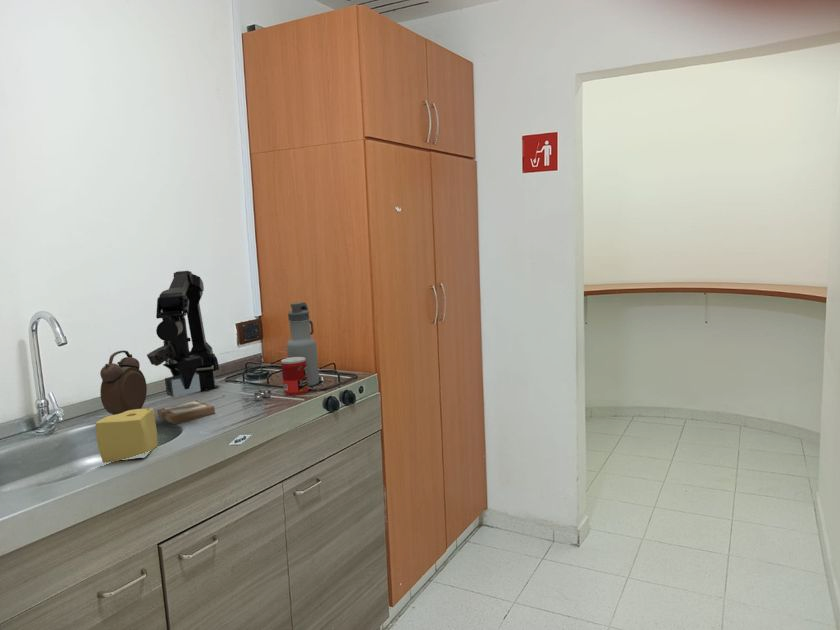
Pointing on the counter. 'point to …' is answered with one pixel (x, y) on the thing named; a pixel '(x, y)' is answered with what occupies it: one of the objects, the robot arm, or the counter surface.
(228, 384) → the counter surface
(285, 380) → the canned food
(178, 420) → the picture frame
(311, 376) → the water bottle
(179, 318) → the robot arm
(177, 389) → the housing
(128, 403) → the alarm clock
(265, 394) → the loose bolts
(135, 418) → the cheese
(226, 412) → the counter surface
